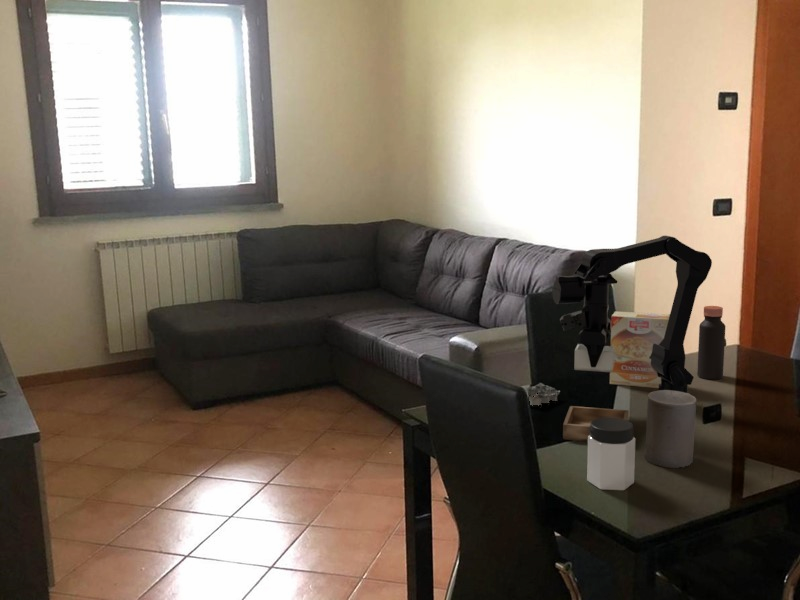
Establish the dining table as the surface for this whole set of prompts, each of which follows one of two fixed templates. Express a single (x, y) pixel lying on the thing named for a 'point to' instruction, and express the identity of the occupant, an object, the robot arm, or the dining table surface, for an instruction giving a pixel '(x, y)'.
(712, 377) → the bottle
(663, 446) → the pillar candle
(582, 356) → the grey crate
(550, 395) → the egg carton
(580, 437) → the walnut crate
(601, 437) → the jar
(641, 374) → the coffeecake box
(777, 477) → the dining table surface
